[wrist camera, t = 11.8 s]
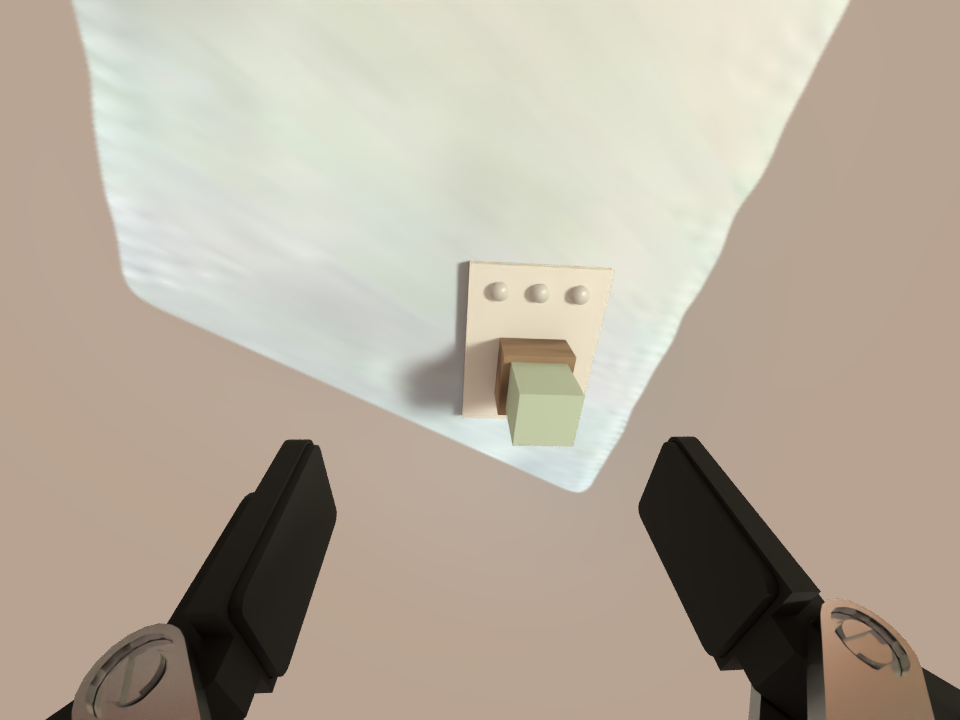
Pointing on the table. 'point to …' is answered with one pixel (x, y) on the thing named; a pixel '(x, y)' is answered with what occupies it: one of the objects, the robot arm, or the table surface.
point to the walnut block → (527, 360)
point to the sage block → (543, 404)
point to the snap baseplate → (528, 319)
